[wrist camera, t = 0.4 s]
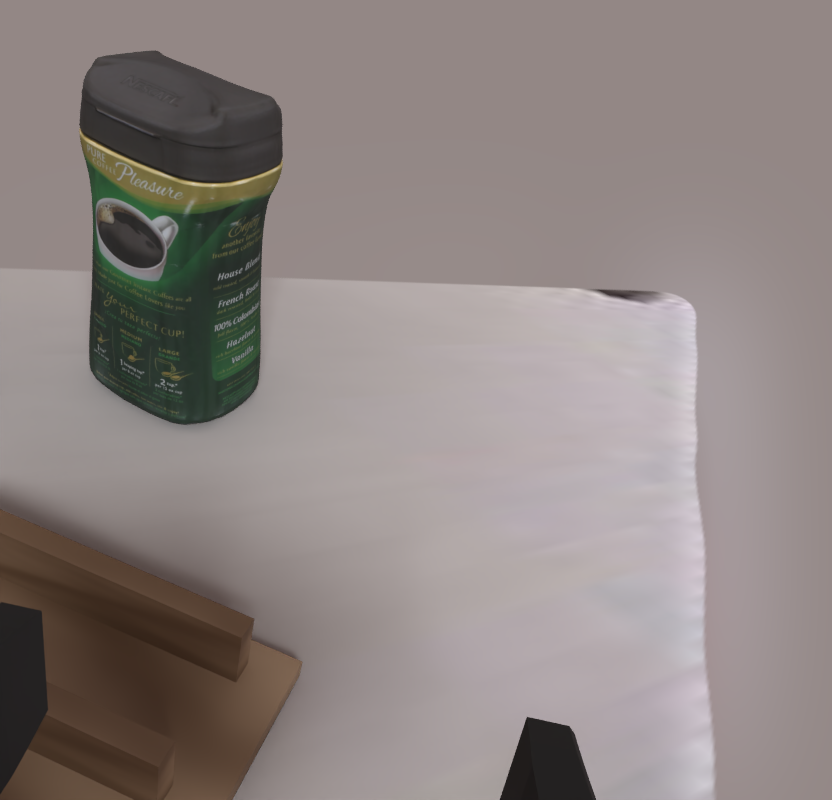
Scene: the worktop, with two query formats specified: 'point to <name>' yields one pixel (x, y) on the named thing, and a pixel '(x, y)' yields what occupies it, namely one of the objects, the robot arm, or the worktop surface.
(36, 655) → the robot arm
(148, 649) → the slot rack
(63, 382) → the worktop surface
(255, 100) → the coffee jar
